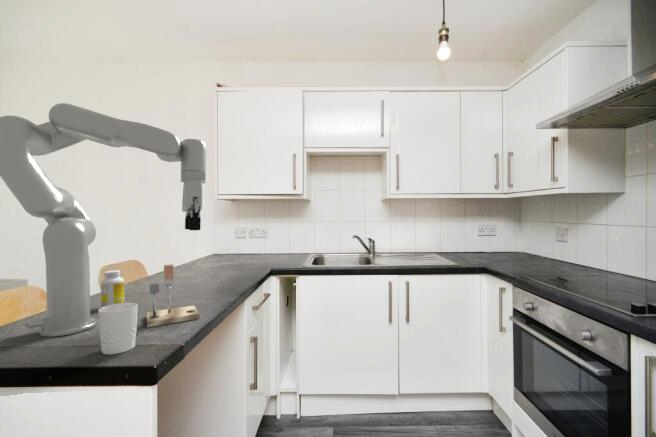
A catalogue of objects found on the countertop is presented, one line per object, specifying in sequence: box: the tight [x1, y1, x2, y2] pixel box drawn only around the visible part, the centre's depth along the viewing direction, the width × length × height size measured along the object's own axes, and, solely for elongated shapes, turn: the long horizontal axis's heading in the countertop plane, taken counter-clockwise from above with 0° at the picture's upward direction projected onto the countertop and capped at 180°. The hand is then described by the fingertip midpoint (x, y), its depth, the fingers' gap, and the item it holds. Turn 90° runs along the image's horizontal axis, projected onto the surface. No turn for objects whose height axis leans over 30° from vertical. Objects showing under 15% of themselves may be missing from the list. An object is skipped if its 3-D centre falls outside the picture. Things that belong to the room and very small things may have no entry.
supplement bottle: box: [100, 269, 125, 308], centre depth 109 cm, size 7×7×13 cm
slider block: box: [162, 264, 176, 314], centre depth 97 cm, size 3×4×14 cm
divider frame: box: [148, 280, 197, 316], centre depth 97 cm, size 13×3×9 cm, turn 121°
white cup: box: [97, 302, 139, 355], centre depth 75 cm, size 8×8×10 cm
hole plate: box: [146, 305, 200, 328], centre depth 98 cm, size 14×11×2 cm
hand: (192, 229), depth 102 cm, fingers open, 9 cm apart
